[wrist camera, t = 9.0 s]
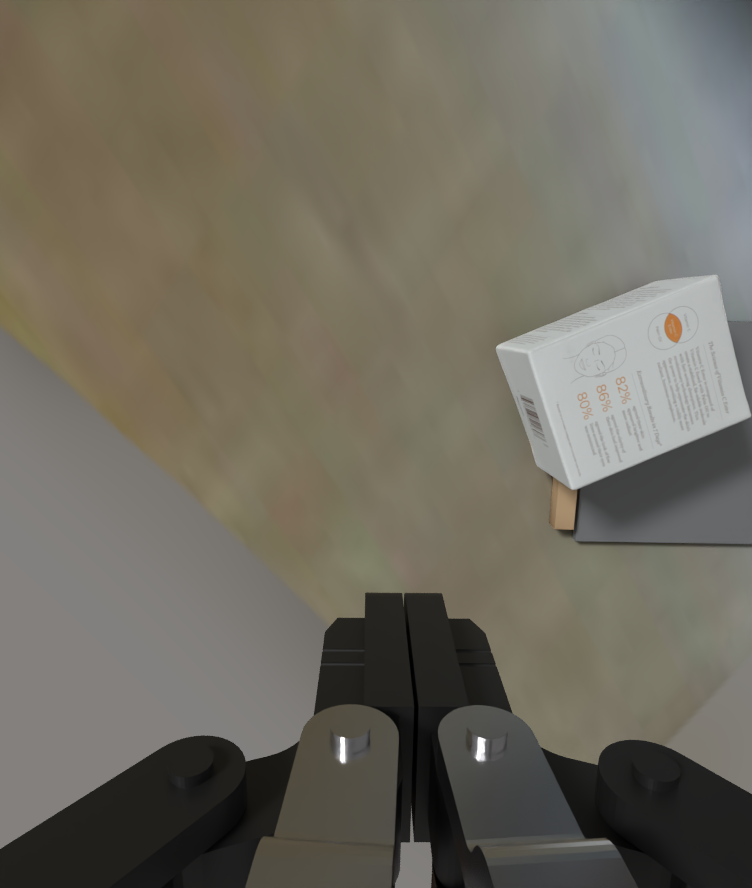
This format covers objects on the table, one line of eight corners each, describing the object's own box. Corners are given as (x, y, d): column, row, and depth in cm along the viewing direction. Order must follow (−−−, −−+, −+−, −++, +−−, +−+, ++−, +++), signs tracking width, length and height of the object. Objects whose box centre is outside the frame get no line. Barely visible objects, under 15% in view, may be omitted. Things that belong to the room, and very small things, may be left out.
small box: (533, 468, 38) (692, 404, 38) (572, 494, 33) (756, 419, 33) (492, 343, 36) (659, 278, 36) (526, 349, 31) (721, 271, 31)
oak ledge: (565, 334, 38) (571, 335, 37) (585, 335, 38) (592, 336, 37) (549, 522, 40) (554, 529, 39) (567, 523, 40) (573, 529, 39)
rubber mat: (593, 318, 38) (596, 318, 37) (790, 322, 38) (797, 322, 37) (572, 537, 41) (575, 541, 40) (755, 540, 41) (760, 544, 40)
